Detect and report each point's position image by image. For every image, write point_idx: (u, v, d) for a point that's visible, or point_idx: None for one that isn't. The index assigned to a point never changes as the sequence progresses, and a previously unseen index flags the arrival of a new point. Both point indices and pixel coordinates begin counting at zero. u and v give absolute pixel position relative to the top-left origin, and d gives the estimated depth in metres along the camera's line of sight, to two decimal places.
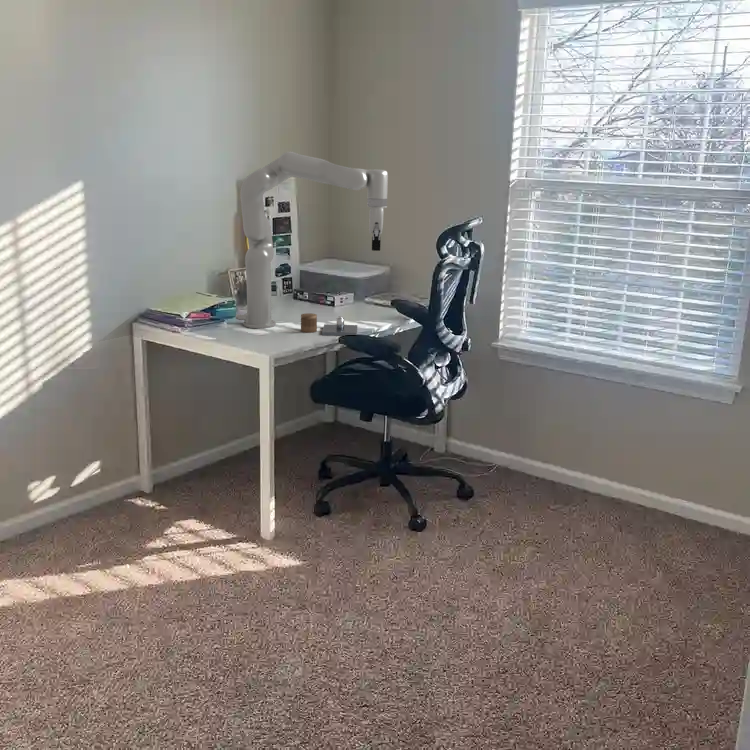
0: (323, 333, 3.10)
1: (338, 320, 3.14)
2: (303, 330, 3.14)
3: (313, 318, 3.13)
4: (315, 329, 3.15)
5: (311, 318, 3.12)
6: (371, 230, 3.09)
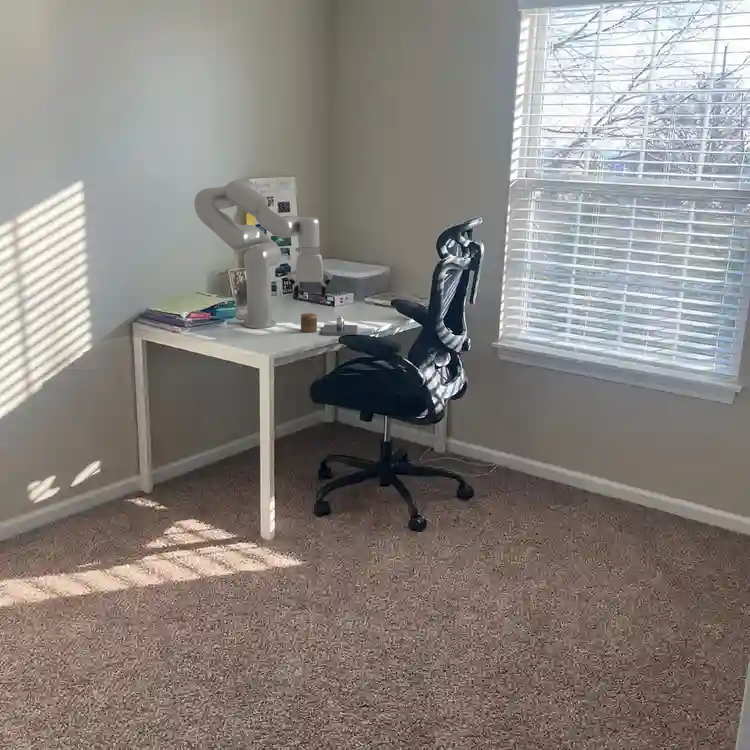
0: (323, 333, 3.10)
1: (338, 320, 3.14)
2: (303, 330, 3.14)
3: (313, 318, 3.13)
4: (315, 329, 3.15)
5: (311, 318, 3.12)
6: (322, 277, 3.09)
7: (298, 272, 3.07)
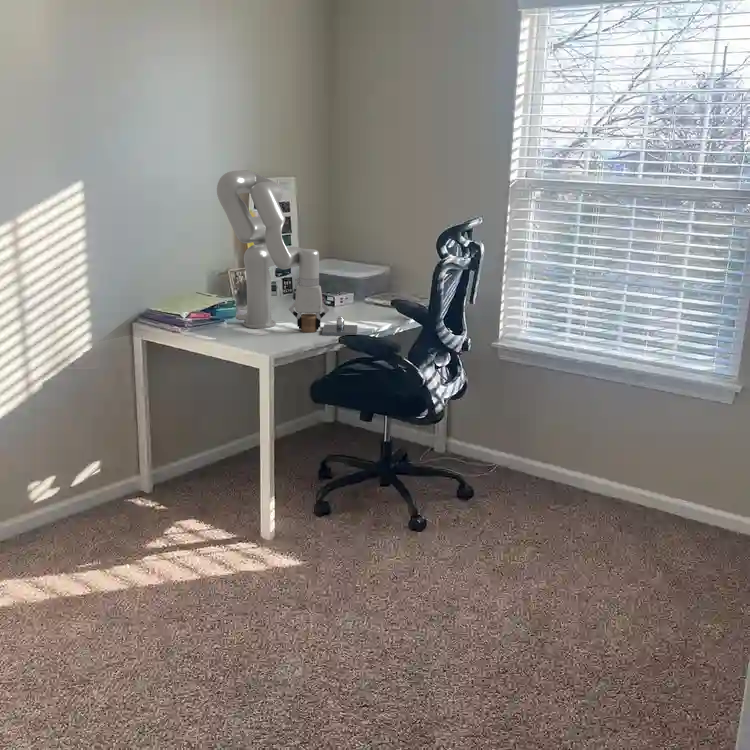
0: (323, 333, 3.10)
1: (338, 320, 3.14)
2: (303, 330, 3.14)
3: (313, 318, 3.13)
4: (315, 329, 3.15)
5: (311, 318, 3.12)
6: (321, 308, 3.12)
7: (297, 303, 3.11)
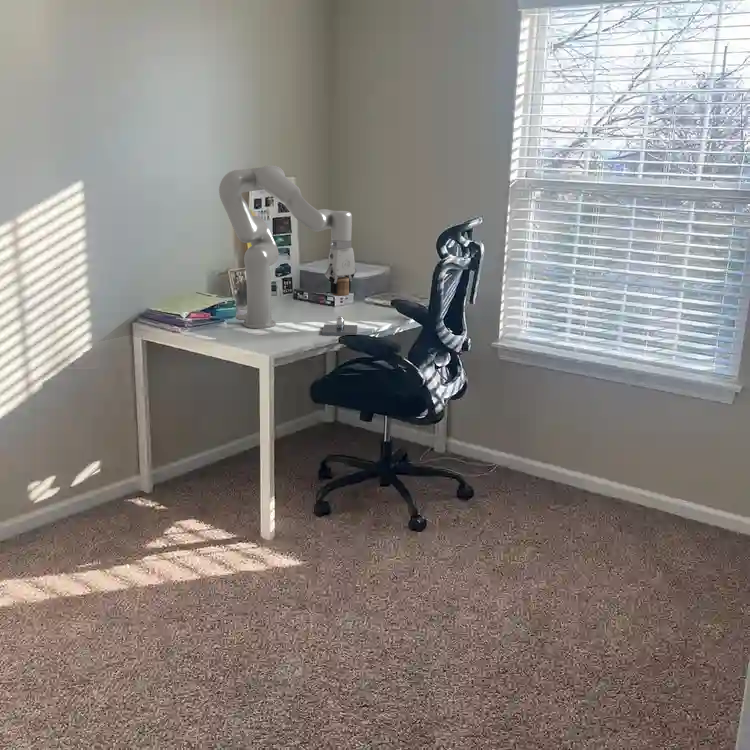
0: (323, 333, 3.10)
1: (338, 320, 3.14)
2: (341, 294, 3.09)
3: (348, 280, 3.11)
4: None
5: (348, 280, 3.10)
6: None
7: (337, 266, 3.05)
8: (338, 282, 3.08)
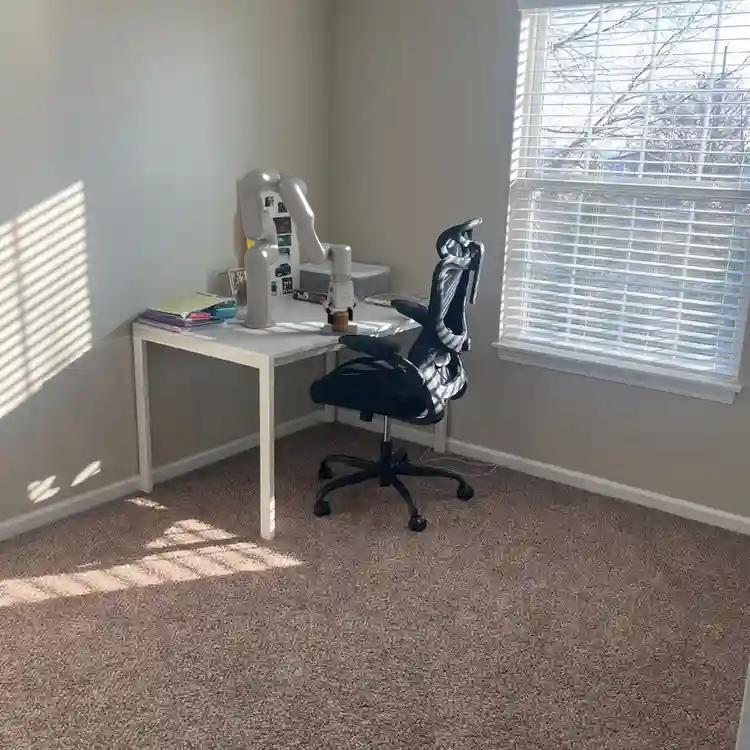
0: (323, 333, 3.10)
1: None
2: (340, 328, 3.13)
3: None
4: None
5: (347, 315, 3.14)
6: None
7: (337, 300, 3.08)
8: (337, 317, 3.12)
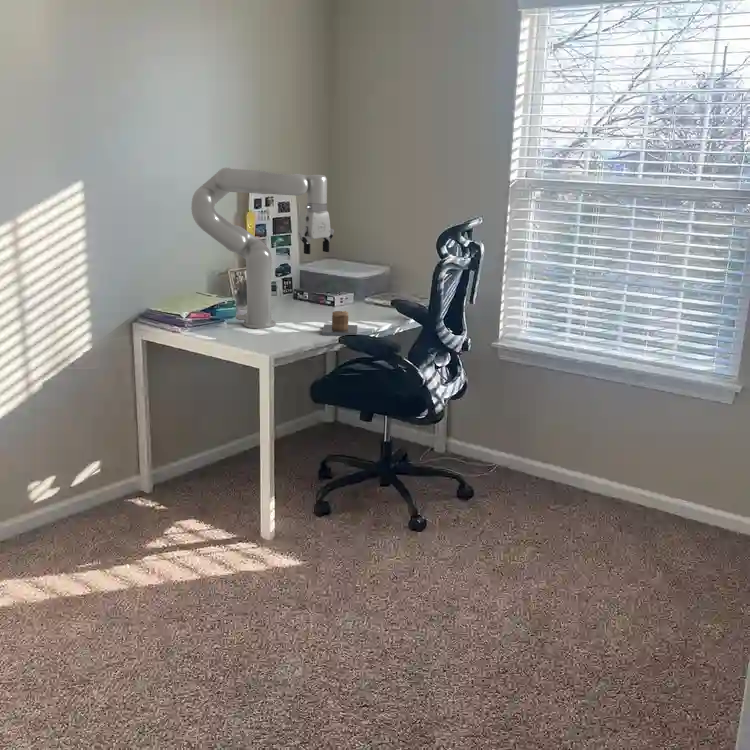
0: (323, 333, 3.10)
1: None
2: (340, 328, 3.13)
3: None
4: None
5: (347, 315, 3.14)
6: None
7: (313, 229, 3.13)
8: (337, 317, 3.12)
